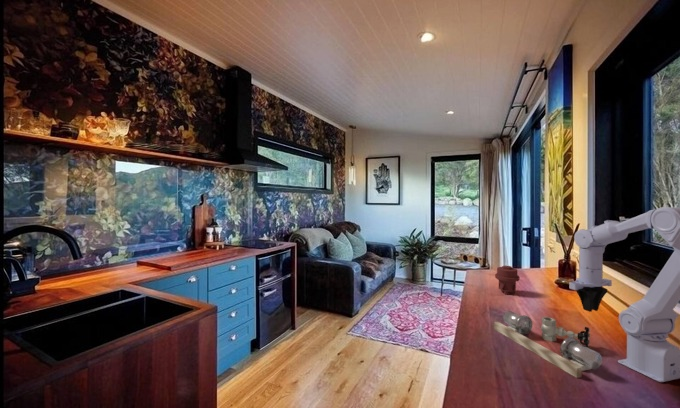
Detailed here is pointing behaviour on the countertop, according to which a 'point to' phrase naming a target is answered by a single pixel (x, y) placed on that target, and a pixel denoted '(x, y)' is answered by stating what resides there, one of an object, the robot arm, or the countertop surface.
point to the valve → (561, 332)
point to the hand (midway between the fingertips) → (590, 310)
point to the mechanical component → (507, 279)
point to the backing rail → (539, 350)
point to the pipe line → (568, 347)
